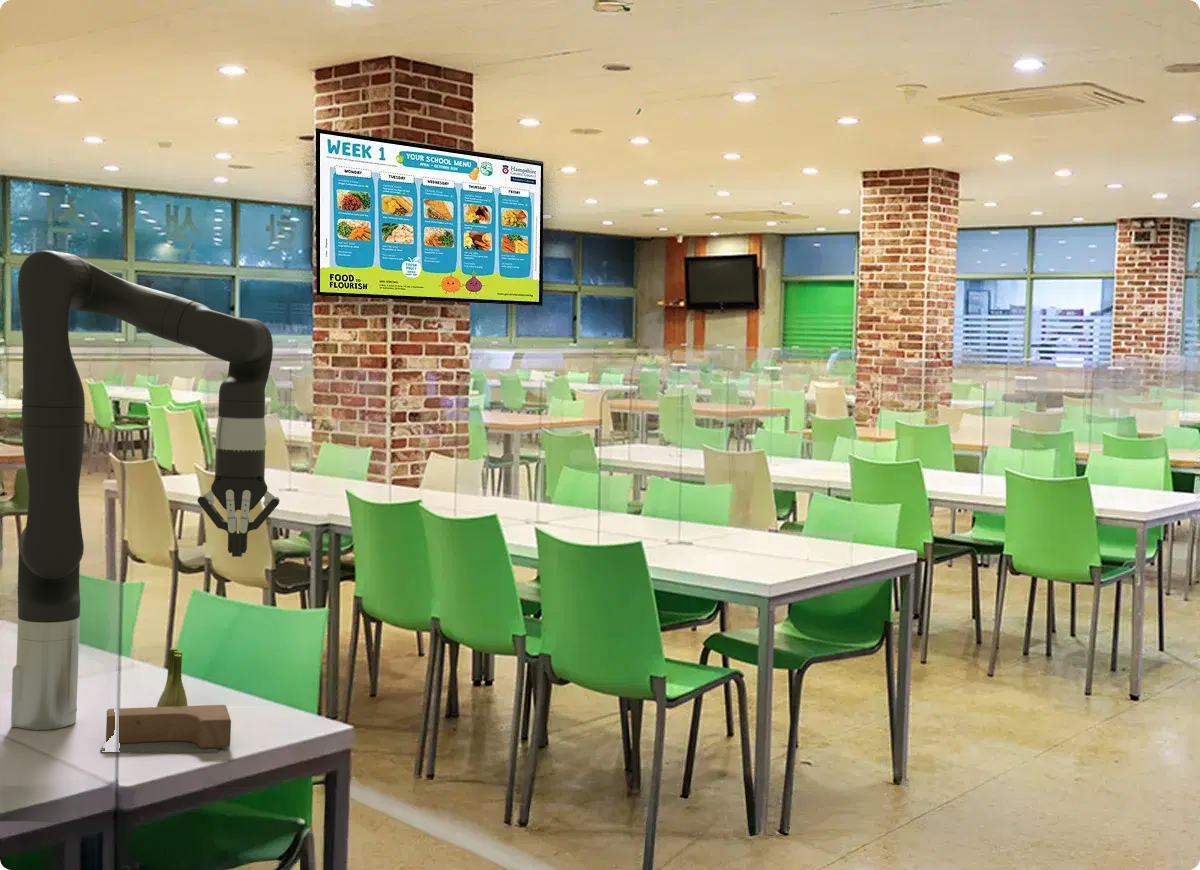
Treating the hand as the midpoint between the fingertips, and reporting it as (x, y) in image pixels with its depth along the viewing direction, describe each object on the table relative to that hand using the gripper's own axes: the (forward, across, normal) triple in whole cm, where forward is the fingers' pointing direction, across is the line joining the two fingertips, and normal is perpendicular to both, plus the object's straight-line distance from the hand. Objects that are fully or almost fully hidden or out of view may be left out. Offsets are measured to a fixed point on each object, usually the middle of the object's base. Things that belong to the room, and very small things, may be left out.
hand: (237, 555), depth 211 cm
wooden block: (+27, 0, -1) cm, 27 cm away
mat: (+29, -10, -1) cm, 31 cm away
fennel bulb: (+30, -10, +10) cm, 33 cm away
